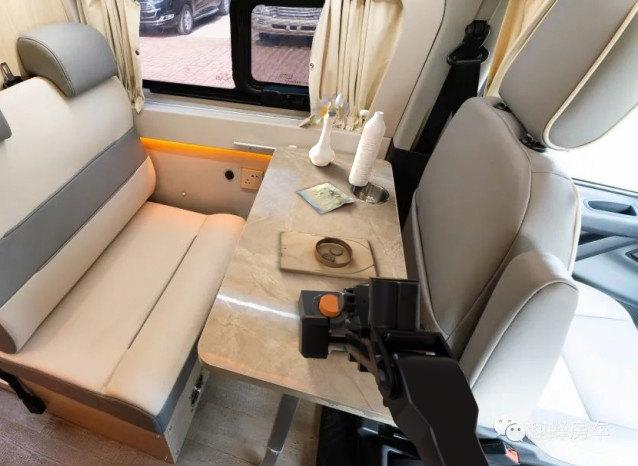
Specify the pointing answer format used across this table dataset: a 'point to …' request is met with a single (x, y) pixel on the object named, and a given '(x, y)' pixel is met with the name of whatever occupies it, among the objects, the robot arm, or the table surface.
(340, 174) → the table surface
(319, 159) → the flower vase
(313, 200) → the topographic map
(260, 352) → the table surface
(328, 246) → the board
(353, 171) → the water bottle
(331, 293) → the jug base
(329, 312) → the lid button
